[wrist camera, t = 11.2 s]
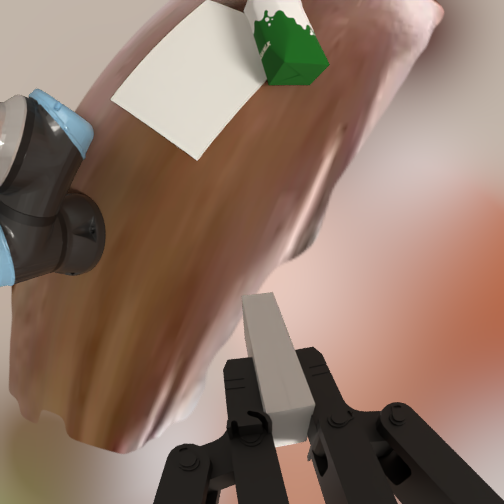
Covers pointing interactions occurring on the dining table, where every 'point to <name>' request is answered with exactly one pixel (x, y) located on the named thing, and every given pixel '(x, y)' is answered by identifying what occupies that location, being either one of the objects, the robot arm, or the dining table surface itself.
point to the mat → (196, 77)
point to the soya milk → (285, 42)
